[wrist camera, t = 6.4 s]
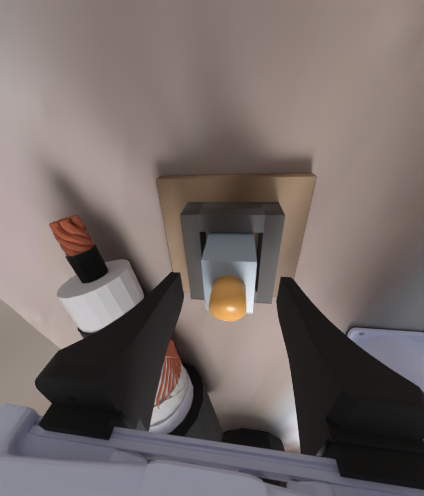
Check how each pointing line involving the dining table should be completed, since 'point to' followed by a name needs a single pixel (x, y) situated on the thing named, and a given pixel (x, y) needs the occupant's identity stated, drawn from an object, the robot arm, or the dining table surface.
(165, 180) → the holder
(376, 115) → the dining table surface
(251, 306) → the connector
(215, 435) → the cable
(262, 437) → the bottle
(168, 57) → the dining table surface
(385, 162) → the dining table surface
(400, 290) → the dining table surface
